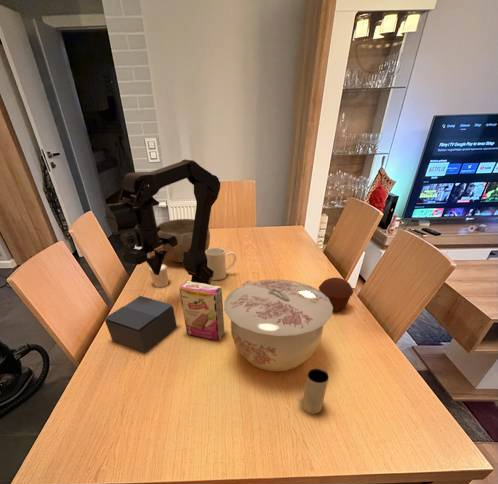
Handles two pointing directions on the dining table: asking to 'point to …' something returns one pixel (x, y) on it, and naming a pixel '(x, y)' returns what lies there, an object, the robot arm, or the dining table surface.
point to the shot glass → (160, 277)
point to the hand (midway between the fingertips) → (157, 274)
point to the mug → (218, 262)
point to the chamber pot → (277, 322)
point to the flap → (148, 306)
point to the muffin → (337, 292)
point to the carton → (139, 328)
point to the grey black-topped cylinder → (315, 390)
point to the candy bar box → (203, 310)
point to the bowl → (179, 237)
